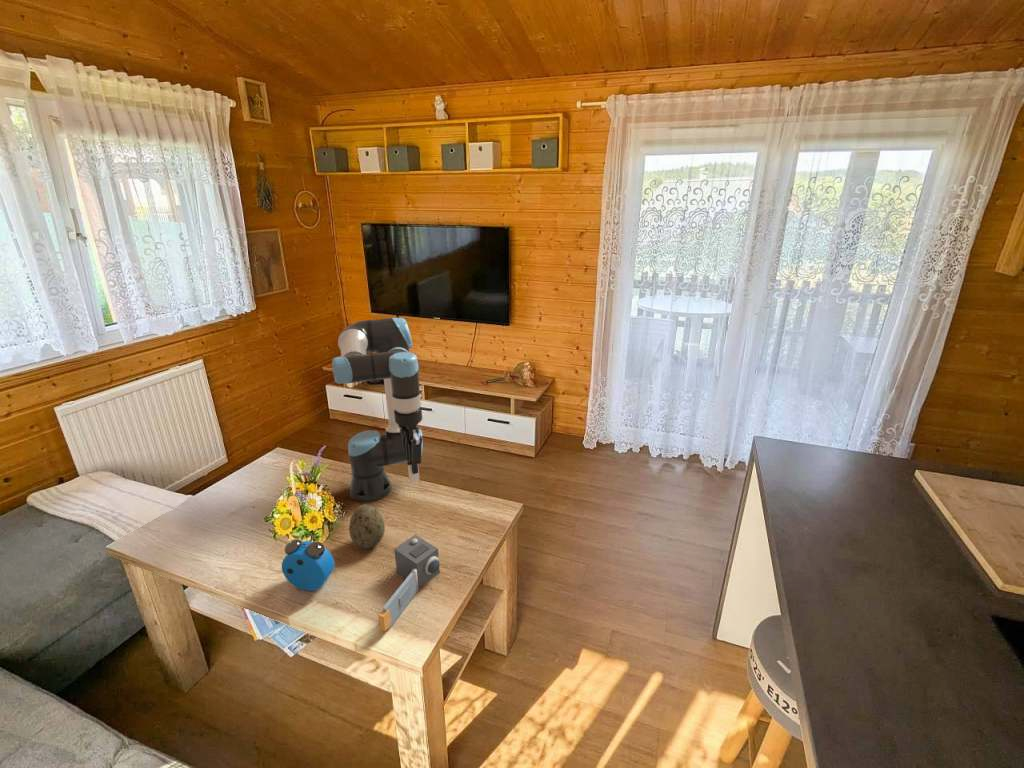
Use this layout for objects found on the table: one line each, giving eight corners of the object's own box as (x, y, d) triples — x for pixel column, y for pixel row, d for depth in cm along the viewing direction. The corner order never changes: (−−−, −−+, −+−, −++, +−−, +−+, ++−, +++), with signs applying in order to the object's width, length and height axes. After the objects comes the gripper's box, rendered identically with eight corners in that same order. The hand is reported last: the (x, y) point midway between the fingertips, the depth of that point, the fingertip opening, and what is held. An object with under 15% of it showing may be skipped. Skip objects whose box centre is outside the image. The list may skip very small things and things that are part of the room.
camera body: (397, 572, 143) (393, 546, 139) (417, 558, 148) (415, 532, 145) (422, 591, 136) (420, 564, 132) (443, 574, 142) (441, 548, 138)
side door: (386, 635, 122) (383, 613, 120) (381, 633, 123) (378, 611, 120) (419, 589, 136) (417, 569, 134) (415, 588, 137) (413, 567, 134)
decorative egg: (368, 561, 147) (362, 521, 142) (344, 548, 153) (338, 509, 147) (393, 541, 156) (389, 502, 150) (370, 529, 161) (365, 492, 156)
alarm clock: (338, 579, 140) (330, 537, 135) (327, 595, 135) (318, 552, 129) (297, 573, 143) (288, 532, 137) (285, 589, 137) (275, 547, 131)
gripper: (429, 413, 129) (434, 487, 138) (412, 397, 139) (418, 467, 148) (402, 420, 125) (410, 495, 134) (387, 402, 136) (395, 474, 145)
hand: (414, 480), depth 141 cm, fingers closed
